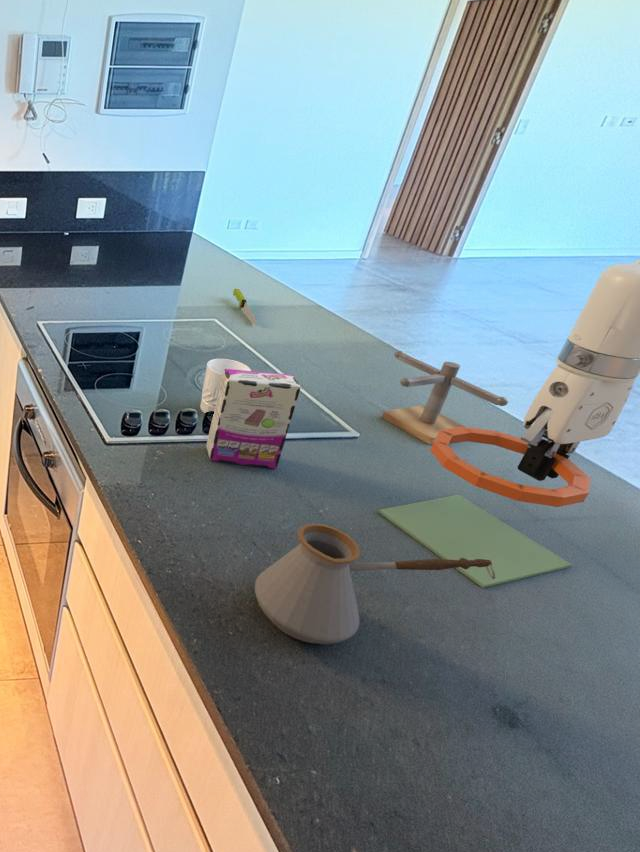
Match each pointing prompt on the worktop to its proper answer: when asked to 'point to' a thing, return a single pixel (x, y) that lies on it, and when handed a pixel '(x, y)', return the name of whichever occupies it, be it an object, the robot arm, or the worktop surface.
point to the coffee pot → (326, 584)
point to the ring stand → (433, 400)
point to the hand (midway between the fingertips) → (536, 473)
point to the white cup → (216, 380)
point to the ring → (536, 495)
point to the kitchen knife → (244, 305)
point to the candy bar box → (252, 417)
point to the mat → (474, 539)
